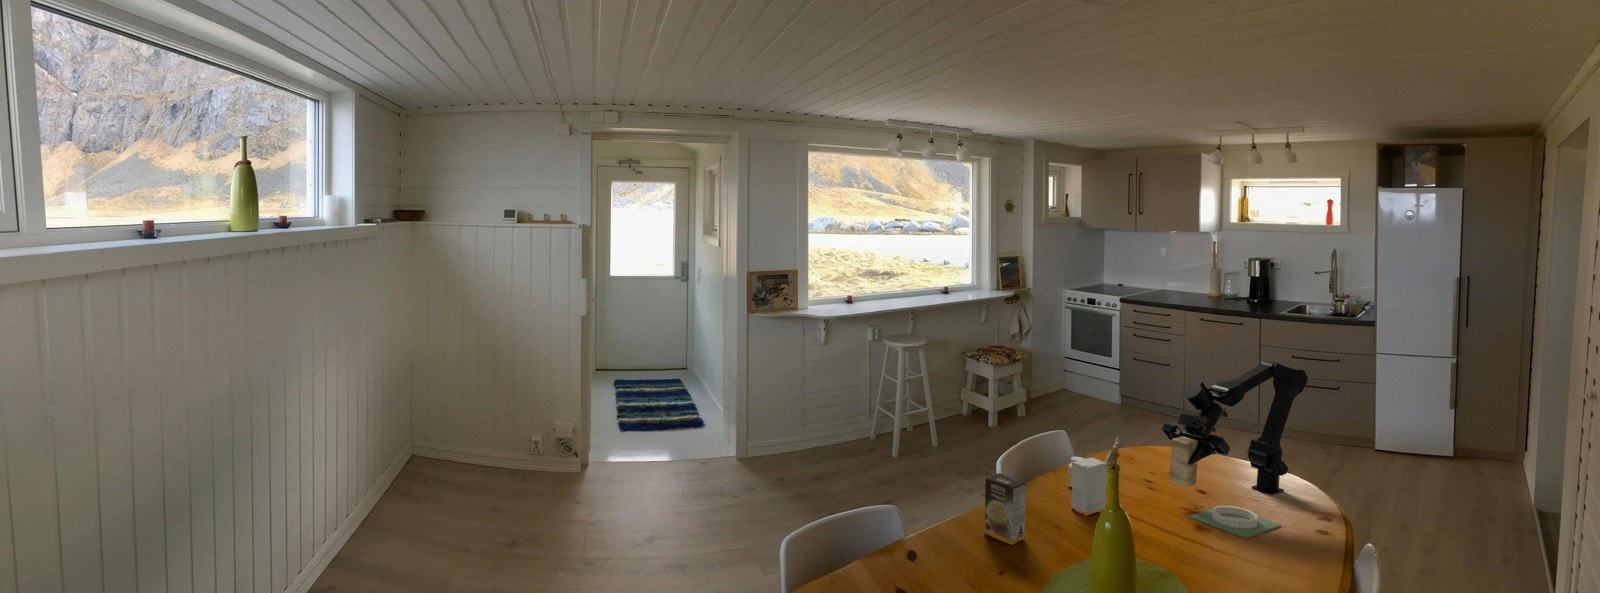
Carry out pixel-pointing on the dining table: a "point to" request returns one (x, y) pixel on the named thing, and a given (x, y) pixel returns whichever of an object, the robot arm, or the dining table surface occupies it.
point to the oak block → (1183, 461)
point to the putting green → (1235, 521)
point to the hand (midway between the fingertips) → (1180, 461)
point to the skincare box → (1088, 485)
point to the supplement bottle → (1073, 459)
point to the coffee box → (1005, 506)
